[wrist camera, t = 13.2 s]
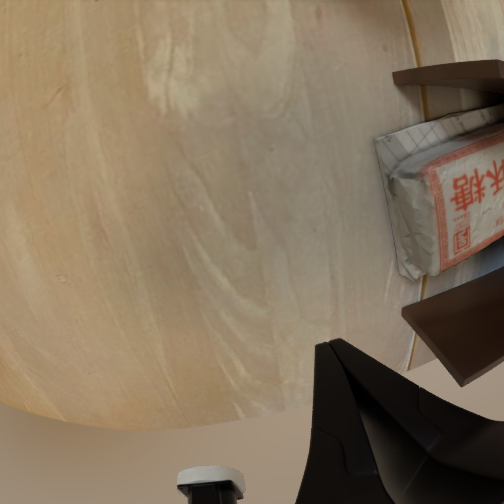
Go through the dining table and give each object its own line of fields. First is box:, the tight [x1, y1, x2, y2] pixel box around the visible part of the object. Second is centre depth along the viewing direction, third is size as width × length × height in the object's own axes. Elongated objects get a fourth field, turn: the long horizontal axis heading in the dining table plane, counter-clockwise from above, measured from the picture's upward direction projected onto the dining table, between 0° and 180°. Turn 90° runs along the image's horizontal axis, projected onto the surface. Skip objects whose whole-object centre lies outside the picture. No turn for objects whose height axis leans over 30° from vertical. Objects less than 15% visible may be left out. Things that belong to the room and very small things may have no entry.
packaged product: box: [373, 103, 504, 282], centre depth 16 cm, size 18×5×10 cm
